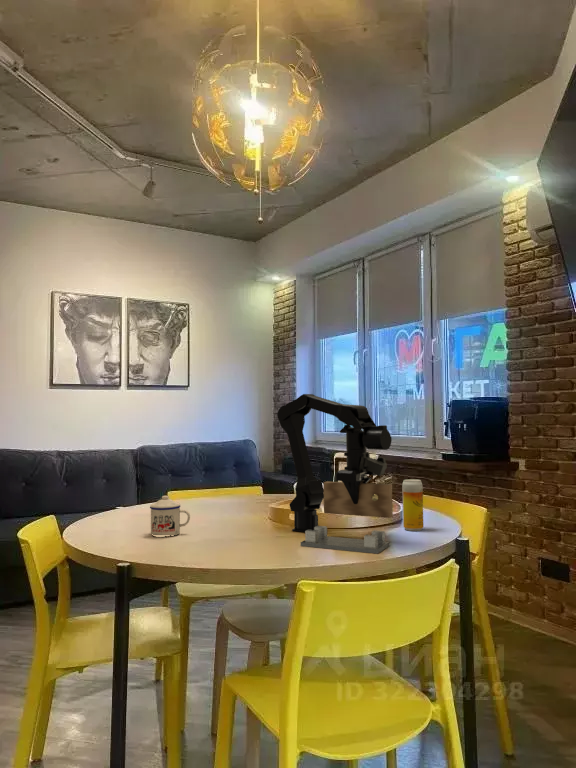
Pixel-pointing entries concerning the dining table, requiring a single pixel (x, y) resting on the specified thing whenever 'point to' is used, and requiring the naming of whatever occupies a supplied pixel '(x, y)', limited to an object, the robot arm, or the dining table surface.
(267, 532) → the dining table surface
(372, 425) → the robot arm
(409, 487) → the beer can
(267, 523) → the dining table surface
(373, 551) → the rail
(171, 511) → the teacup with lid
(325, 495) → the walnut door
